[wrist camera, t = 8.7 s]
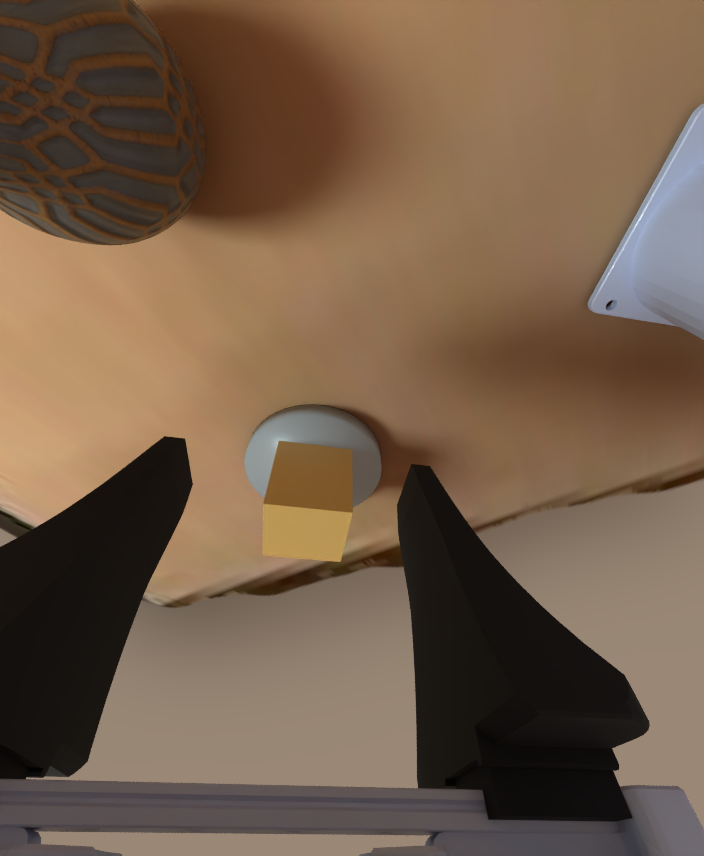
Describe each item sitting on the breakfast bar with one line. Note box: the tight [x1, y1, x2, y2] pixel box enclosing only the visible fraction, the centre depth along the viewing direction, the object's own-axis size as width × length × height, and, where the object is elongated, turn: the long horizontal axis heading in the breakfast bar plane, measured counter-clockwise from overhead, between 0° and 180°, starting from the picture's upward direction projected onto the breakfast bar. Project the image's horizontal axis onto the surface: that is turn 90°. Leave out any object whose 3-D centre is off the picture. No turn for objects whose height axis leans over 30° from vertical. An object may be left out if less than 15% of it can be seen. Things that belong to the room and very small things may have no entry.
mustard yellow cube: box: [263, 441, 353, 562], centre depth 22 cm, size 5×5×5 cm
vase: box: [0, 0, 205, 245], centre depth 11 cm, size 7×7×9 cm
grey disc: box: [245, 405, 382, 507], centre depth 23 cm, size 9×9×4 cm
